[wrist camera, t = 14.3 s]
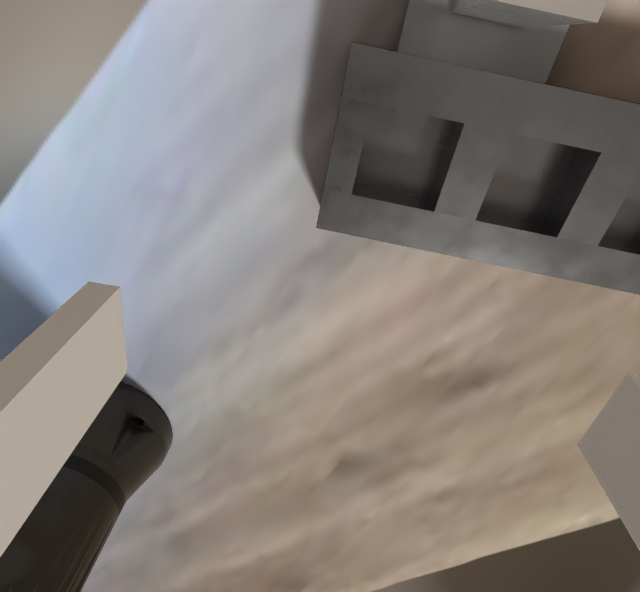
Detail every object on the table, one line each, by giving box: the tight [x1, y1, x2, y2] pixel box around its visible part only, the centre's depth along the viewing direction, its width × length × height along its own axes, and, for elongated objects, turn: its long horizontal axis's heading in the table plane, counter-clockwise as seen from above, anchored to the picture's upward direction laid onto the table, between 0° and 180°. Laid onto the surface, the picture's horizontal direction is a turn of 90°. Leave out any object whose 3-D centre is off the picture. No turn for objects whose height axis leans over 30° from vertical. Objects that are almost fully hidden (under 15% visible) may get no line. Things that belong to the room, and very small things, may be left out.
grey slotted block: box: [316, 42, 640, 295], centre depth 30 cm, size 28×12×4 cm, turn 80°
